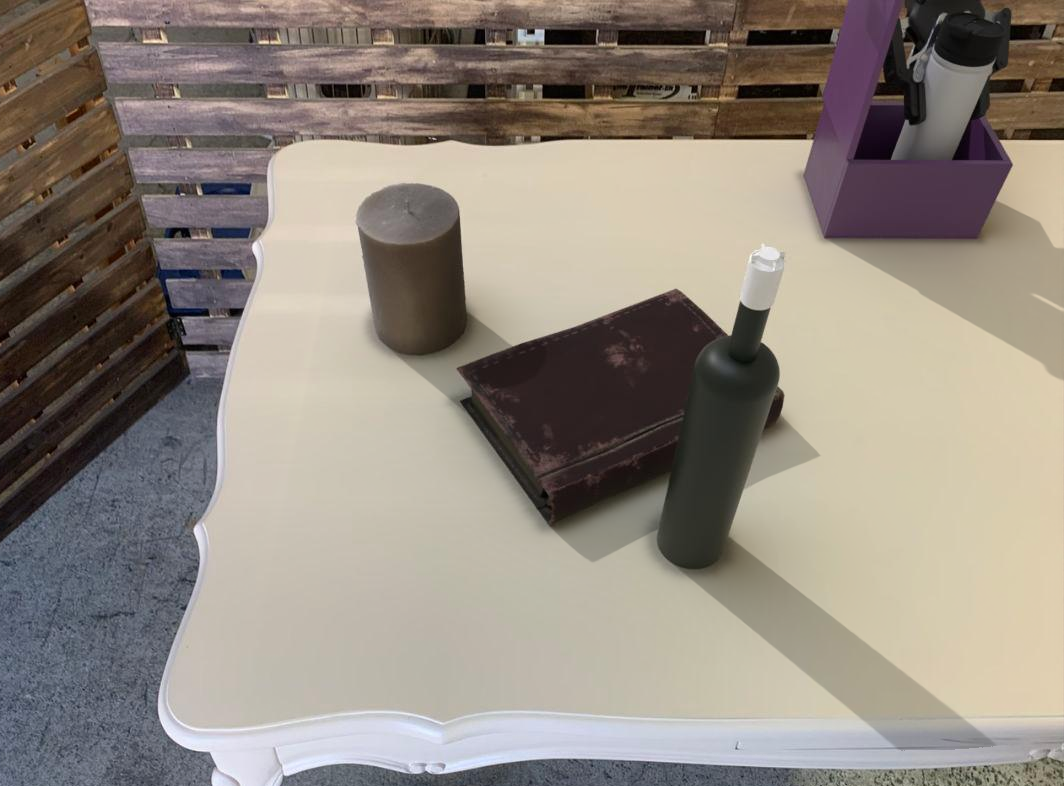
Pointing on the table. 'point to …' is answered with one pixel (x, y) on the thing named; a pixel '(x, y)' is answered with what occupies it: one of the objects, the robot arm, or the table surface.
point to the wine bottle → (722, 424)
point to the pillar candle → (414, 267)
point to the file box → (903, 182)
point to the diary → (593, 402)
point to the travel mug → (951, 86)
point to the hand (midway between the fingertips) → (947, 120)
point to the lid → (858, 66)
